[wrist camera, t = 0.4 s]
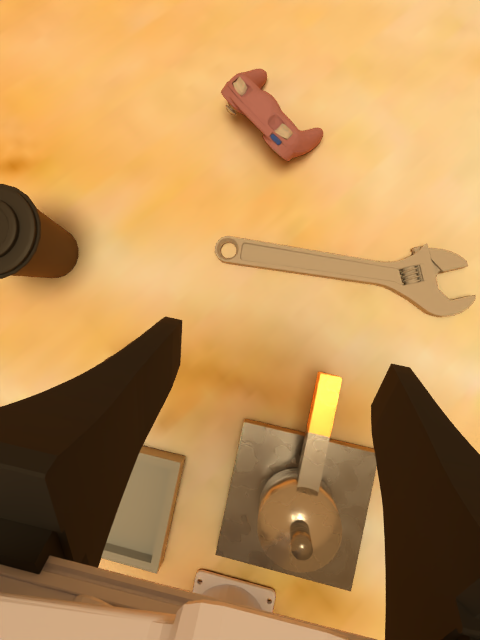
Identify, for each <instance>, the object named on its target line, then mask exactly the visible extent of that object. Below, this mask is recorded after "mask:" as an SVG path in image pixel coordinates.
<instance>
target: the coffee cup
mask: <svg viewBox="0 0 480 640" xmlns="http://www.w3.org/2000/svg"><path fill="white" fill-rule="evenodd" d="M77 259H78V246H77V243H76V240H75V239H74V238H73V236H72V235H71V234H70V233H68V232H67V231H66V230H64V229H63V228H62V227H60V226H59V225H58V224H56V223H55V222H54V221H52V220H51V219H50V218H48V217H47V216H46V215H44V214H43V213H42V212H40V211H39V210H38V209H37V208H36V206H35V205H34V204H33V202H32V201H31V200H30V198H29V197H28V196H27V195H26V194H24V193H23V192H22V191H20V190H19V189H17V188H15V187H12V186H8V185H5V184H0V279H2V278H5V277H8V276H10V275H13V276H29V277H46V278H59V277H61V276H64V275H66V274H67V273H69V272H70V271H71V270H72V269H73V267H74V266H75V264H76V262H77Z"/></svg>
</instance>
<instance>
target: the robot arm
mask: <svg viewBox="0 0 480 640" xmlns="http://www.w3.org/2000/svg"><path fill="white" fill-rule="evenodd" d="M181 336H182V320H178V319H174V318H169V317H164V318H163V319H161V320H160V321H159V322H157V323H156V324H155V325H154V326H152V327H151V328H150V329H149V330H147V331H146V332H145V333H143V334H142V335H141V336H140V337H138V338H137V339H136V340H134V341H133V342H131V343H130V344H129V345H127V346H126V347H125V348H123V349H122V350H120V351H119V352H117V353H116V354H114V355H113V356H111V357H110V358H108V359H107V360H105V361H104V362H102V363H100V364H99V365H97V366H95V367H94V368H92V369H90V370H88V371H87V372H85V373H83V374H81V375H79V376H77V377H75V378H73V379H71V380H69V381H67V382H64V383H62V384H60V385H58V386H55V387H53V388H51V389H49V390H47V391H44V392H42V393H39V394H36V395H34V396H31V397H29V398H26V399H23V400H20V401H17V402H14V403H11V404H8V405H5V406H2V407H0V640H376V639H372V638H368V637H364V636H361V635H357V634H353V633H349V632H345V631H341V630H337V629H333V628H330V627H326V626H322V625H318V624H314V623H310V622H306V621H302V620H298V619H295V618H291V617H287V616H283V615H279V614H275V613H272V612H273V607H274V602H275V597H276V593H275V591H274V590H273V589H271V588H267V587H264V586H260V585H256V584H253V583H249V582H245V581H242V580H238V579H235V578H231V577H227V576H224V575H220V574H216V573H213V572H209V571H205V570H198V571H197V574H196V578H195V582H194V587H193V592H190V591H186V590H182V589H178V588H174V587H170V586H166V585H163V584H159V583H155V582H151V581H147V580H143V579H139V578H135V577H131V576H128V575H124V574H120V573H116V572H112V571H108V570H104V569H100V568H98V566H99V563H100V560H101V557H102V554H103V551H104V548H105V545H106V542H107V539H108V536H109V533H110V530H111V528H112V525H113V522H114V519H115V516H116V513H117V511H118V508H119V505H120V502H121V499H122V497H123V494H124V491H125V489H126V486H127V483H128V481H129V478H130V475H131V473H132V470H133V468H134V465H135V463H136V460H137V457H138V455H139V452H140V450H141V448H142V446H143V444H144V441H145V439H146V437H147V435H148V434H149V432H150V430H151V428H152V426H153V424H154V422H155V420H156V418H157V416H158V414H159V412H160V410H161V408H162V406H163V404H164V402H165V400H166V398H167V396H168V394H169V392H170V390H171V388H172V386H173V383H174V380H175V378H176V375H177V372H178V369H179V366H180V358H181ZM371 425H372V438H373V445H374V451H375V458H376V464H377V470H378V476H379V482H380V489H381V495H382V503H383V516H384V535H385V565H386V622H385V640H480V455H479V453H478V452H477V451H476V450H475V449H474V448H473V447H472V446H471V445H470V444H469V442H468V441H467V440H466V439H465V438H464V437H463V436H462V434H461V433H460V432H459V431H458V430H457V429H456V427H455V426H454V425H453V424H452V422H451V421H450V420H449V419H448V418H447V416H446V415H445V414H444V412H443V411H442V410H441V409H440V407H439V406H438V405H437V403H436V402H435V401H434V399H433V398H432V397H431V395H430V394H429V393H428V391H427V390H426V389H425V387H424V386H423V384H422V383H421V382H420V380H419V379H418V378H417V376H416V375H415V374H414V372H413V371H412V370H411V368H410V367H405V366H400V365H395V364H391V365H390V367H389V369H388V371H387V374H386V376H385V378H384V380H383V382H382V384H381V386H380V388H379V390H378V392H377V394H376V396H375V399H374V401H373V403H372V405H371ZM198 579H201V580H202V582H199V581H198ZM267 599H271V601H268V600H267Z"/></svg>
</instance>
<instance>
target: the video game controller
mask: <svg viewBox="0 0 480 640" xmlns="http://www.w3.org/2000/svg"><path fill="white" fill-rule="evenodd" d="M266 80H267V74H266V71H264V70H262V69H255V70H251V71H248V72H243V73H238V74H237V75H235V76H234V77H233V78H232V79H231V80H230V81H229V82H227V83H226V85H225V86H224V88H223V89H222V91H221V93H222V95H223V96H224V98H225V99H226V100H227V102H228V104H229V106H230V107H229V106H227V105H226V108H227V110H228V112H229V113H231V114H233V115H236V113H235V112H234V111H237V112H240V113H241V114H243V115H244V116H246V117H248V118H249V119H250V120H251V121H252V122H253V124H254V125H255V126H256V127H257V128H258V129H259V130H260V131H261V132H262V133H263V138H264V140H265V141H266V143H267V144H268V145H269V146H270V147H271V148H272V150H273V151H274V152H276V153H277V154H278V155H280V156H281V157H282V158H283V159H285V160H287V161H290V160H291V158H294V157H298V156H301V155H304V154H306V153H308V152H309V151H311V150H312V149H314V148H315V147H316V146H317V145H318V144H319V143H320V141H321V139H322V137H323V131H322V129H320V128H313V129H309V130H305V131H300V130H298V129H297V127H296V126H295V125H294V124H293V123H292V121H291V120H290V119H289V118H288V117H287V116H286V115H285V114H284V113H283V112H282V111H281V109H280V107H279V105H278V103H277V101H276V100H275V99H274V97H273V96H272V95H270V94H269V93H267V92H266V91H263V90H261V88H262V86H263V85H264V84H265V82H266Z"/></svg>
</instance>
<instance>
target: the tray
mask: <svg viewBox="0 0 480 640" xmlns="http://www.w3.org/2000/svg"><path fill="white" fill-rule="evenodd" d="M184 461H185V456H182V455H178V454H174V453H170V452H166V451H162V450H158V449H154V448H150V447H146V446H142V448H141V450H140V452H139V455H138V457H137V460H136V463H135V465H134V468H133V470H132V473H131V475H130V478H129V481H128V483H127V486H126V489H125V491H124V494H123V497H122V499H121V502H120V505H119V508H118V511H117V513H116V516H115V519H114V522H113V525H112V528H111V530H110V533H109V536H108V539H107V542H106V545H105V548H104V551H103V554H102V557H101V558H103V559H107V560H110V561H114V562H117V563H121V564H125V565H128V566H132V567H135V568H139V569H142V570H146V571H150V572H153V573H158V571H159V569H160V566H161V564H162V562H163V559H164V554H165V550H166V545H167V540H168V536H169V531H170V526H171V522H172V517H173V512H174V507H175V503H176V498H177V493H178V489H179V484H180V479H181V475H182V470H183V465H184Z"/></svg>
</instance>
